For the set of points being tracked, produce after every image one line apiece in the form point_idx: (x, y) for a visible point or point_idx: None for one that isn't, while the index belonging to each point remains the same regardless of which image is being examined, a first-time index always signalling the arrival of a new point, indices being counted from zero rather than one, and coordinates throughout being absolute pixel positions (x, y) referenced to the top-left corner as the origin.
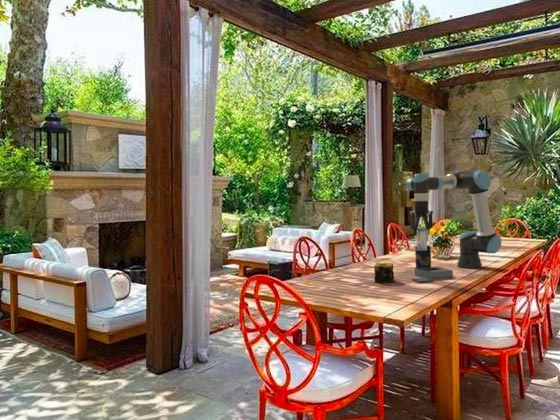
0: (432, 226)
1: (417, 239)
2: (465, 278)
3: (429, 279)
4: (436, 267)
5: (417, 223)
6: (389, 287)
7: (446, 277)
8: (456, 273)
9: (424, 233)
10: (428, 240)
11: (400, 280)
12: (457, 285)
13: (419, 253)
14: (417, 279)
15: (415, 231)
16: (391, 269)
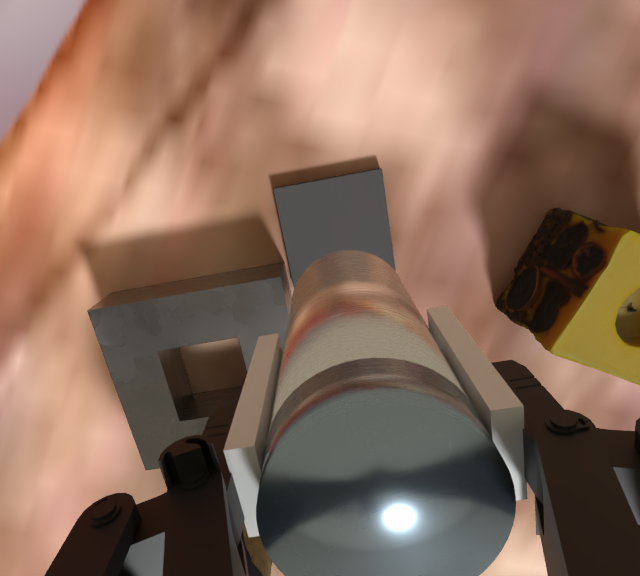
0: (79, 530)
1: (453, 317)
2: (35, 261)
3: (292, 219)
4: (167, 434)
5: (613, 556)
6: (633, 60)
7: (154, 287)
8: (50, 421)
9: (347, 338)
10: (258, 338)
11: (462, 280)
12: (154, 30)
13: (249, 571)
14: (369, 235)
15: (540, 406)
16: (590, 251)
